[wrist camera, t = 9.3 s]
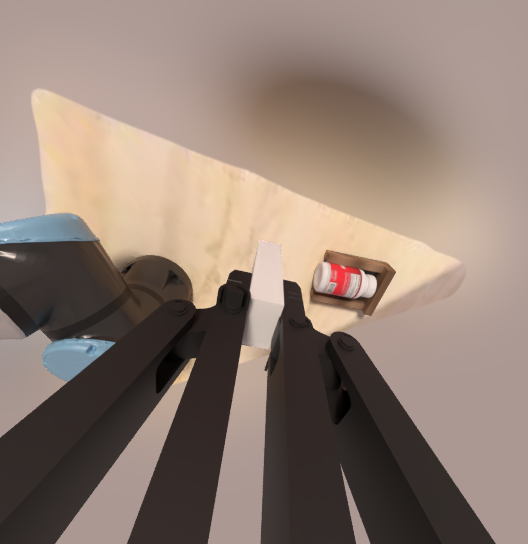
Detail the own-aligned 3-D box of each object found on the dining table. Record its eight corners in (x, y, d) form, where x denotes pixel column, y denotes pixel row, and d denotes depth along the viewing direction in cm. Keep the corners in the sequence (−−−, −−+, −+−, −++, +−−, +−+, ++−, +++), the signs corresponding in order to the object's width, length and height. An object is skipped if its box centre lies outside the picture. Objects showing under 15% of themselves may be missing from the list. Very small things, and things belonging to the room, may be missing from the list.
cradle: (310, 293, 51) (312, 304, 47) (326, 249, 46) (330, 258, 42) (364, 304, 52) (371, 315, 48) (386, 262, 46) (396, 272, 43)
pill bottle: (314, 264, 48) (363, 274, 49) (310, 292, 47) (360, 302, 48) (325, 257, 42) (380, 269, 43) (321, 289, 41) (378, 301, 42)
